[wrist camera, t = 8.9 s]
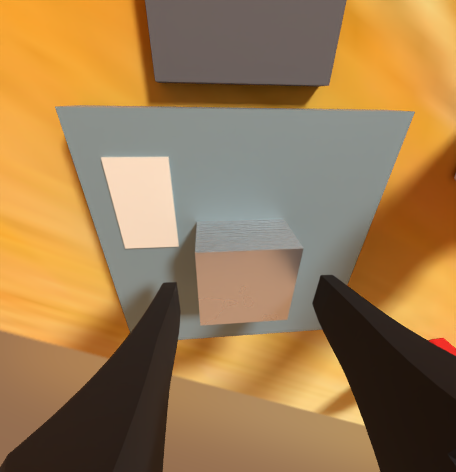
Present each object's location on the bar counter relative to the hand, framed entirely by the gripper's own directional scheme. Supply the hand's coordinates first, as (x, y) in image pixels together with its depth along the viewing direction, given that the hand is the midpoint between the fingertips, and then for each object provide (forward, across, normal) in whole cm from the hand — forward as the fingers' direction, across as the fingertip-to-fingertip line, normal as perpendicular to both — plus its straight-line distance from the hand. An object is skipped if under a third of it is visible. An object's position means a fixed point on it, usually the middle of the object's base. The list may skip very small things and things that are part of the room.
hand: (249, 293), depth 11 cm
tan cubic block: (+5, 0, 0) cm, 5 cm away
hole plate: (+5, 0, 0) cm, 5 cm away
